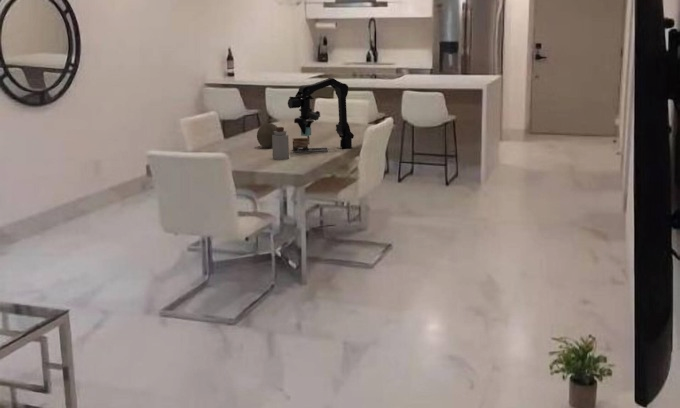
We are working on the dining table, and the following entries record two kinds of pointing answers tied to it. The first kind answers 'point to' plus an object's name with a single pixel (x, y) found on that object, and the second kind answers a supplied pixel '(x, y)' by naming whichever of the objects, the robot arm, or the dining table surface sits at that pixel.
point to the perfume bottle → (280, 144)
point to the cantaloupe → (266, 134)
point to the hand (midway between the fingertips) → (306, 133)
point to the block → (306, 132)
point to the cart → (301, 143)
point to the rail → (311, 150)
